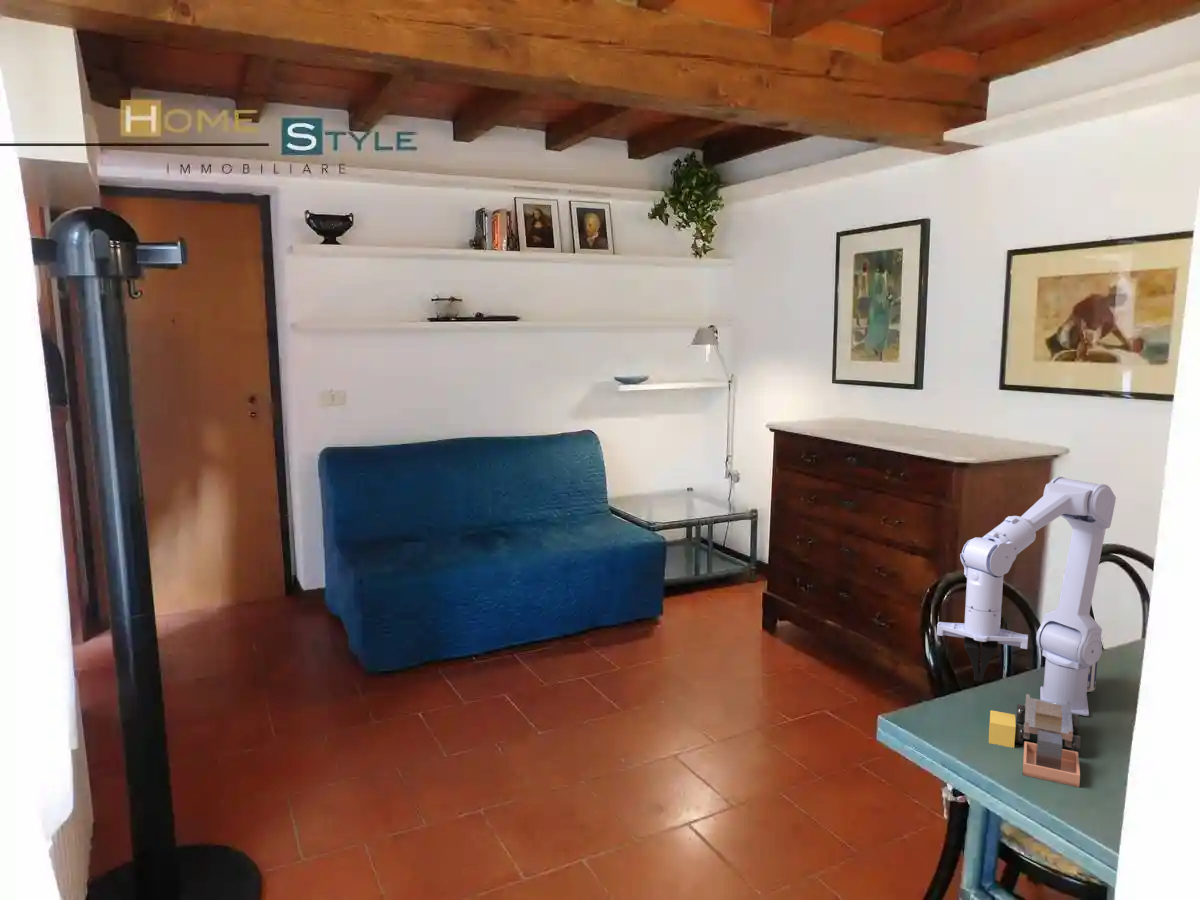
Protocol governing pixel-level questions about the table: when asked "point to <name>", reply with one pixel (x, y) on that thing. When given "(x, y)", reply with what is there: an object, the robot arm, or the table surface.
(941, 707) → the table surface
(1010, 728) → the chock
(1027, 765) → the tray
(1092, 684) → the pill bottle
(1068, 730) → the trolley
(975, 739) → the table surface
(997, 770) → the table surface
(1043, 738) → the grey matte cube
